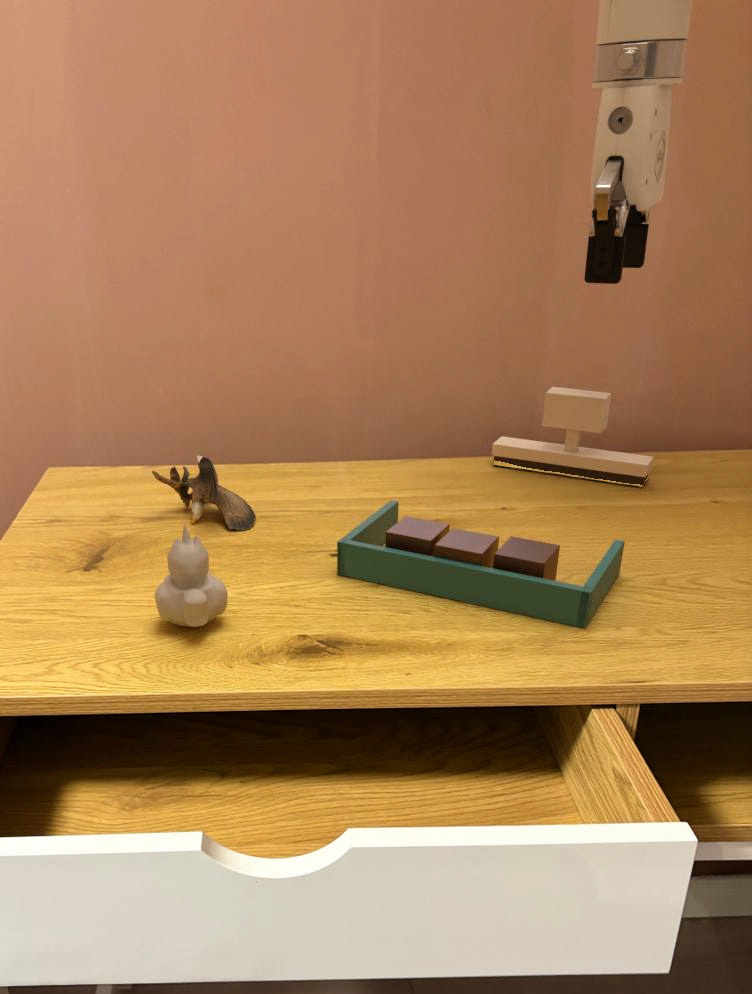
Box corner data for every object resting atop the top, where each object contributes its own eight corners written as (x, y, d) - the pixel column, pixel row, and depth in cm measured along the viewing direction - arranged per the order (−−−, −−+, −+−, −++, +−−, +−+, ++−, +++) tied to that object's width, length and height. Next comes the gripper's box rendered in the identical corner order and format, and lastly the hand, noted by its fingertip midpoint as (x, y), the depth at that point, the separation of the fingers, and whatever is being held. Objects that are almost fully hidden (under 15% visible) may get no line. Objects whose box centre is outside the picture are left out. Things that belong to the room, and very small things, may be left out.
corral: (619, 574, 81) (625, 540, 79) (585, 628, 73) (590, 592, 71) (389, 530, 90) (390, 500, 89) (336, 574, 82) (337, 541, 81)
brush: (650, 480, 100) (663, 397, 96) (643, 489, 98) (657, 405, 94) (499, 458, 107) (506, 381, 103) (490, 466, 105) (497, 387, 101)
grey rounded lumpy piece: (220, 602, 78) (215, 508, 74) (236, 640, 72) (231, 541, 68) (153, 610, 77) (144, 515, 73) (163, 650, 71) (154, 549, 67)
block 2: (495, 581, 80) (499, 536, 78) (478, 600, 77) (482, 554, 75) (449, 571, 82) (452, 527, 80) (431, 590, 79) (434, 544, 77)
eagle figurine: (141, 512, 92) (207, 516, 87) (158, 440, 93) (225, 439, 87) (196, 533, 98) (262, 538, 92) (212, 465, 99) (278, 466, 93)
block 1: (446, 567, 83) (449, 523, 81) (428, 585, 80) (431, 540, 78) (403, 558, 84) (405, 515, 83) (384, 576, 81) (385, 531, 80)
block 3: (554, 590, 78) (560, 544, 76) (539, 610, 75) (544, 563, 73) (506, 580, 80) (510, 535, 78) (489, 599, 77) (493, 553, 75)
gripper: (663, 64, 77) (635, 291, 85) (700, 66, 90) (673, 262, 98) (568, 70, 80) (550, 288, 88) (617, 71, 93) (597, 261, 101)
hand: (614, 274), depth 93 cm, fingers open, 9 cm apart
